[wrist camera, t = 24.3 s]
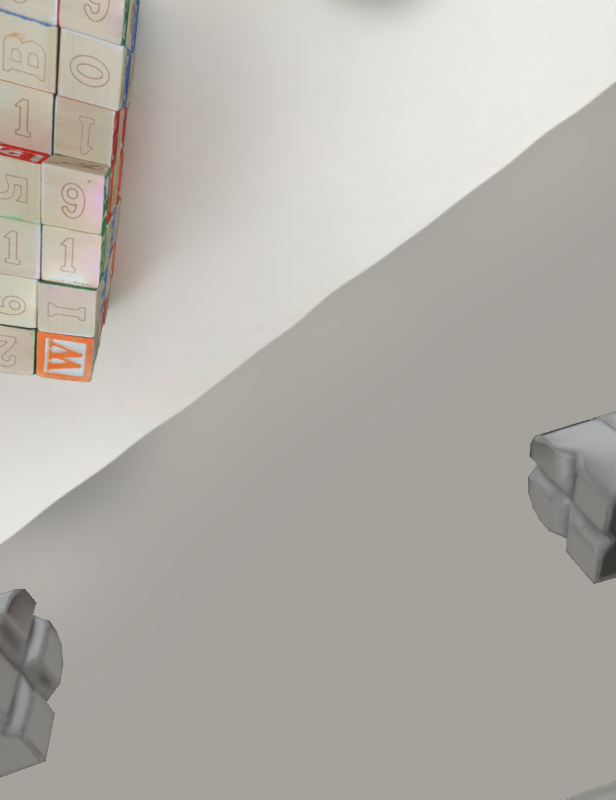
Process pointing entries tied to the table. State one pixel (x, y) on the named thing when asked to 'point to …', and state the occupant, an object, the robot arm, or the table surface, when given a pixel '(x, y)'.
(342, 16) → the table surface
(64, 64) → the stack of blocks
